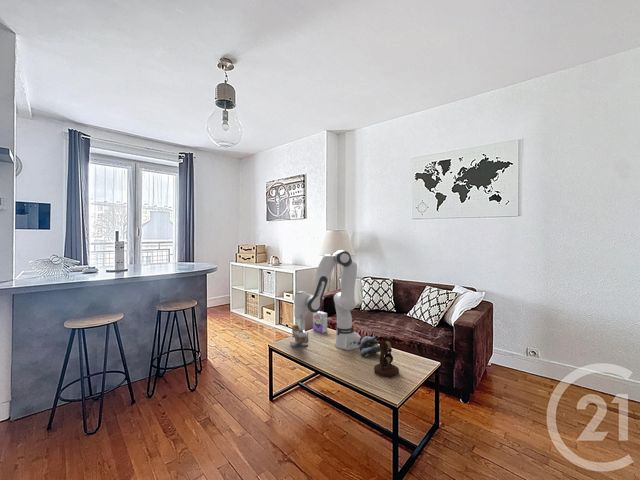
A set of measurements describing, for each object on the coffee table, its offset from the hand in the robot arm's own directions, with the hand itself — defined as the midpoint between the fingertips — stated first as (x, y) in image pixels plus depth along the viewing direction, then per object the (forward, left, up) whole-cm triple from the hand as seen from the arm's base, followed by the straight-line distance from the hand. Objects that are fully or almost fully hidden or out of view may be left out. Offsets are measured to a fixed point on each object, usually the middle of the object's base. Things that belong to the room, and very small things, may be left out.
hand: (300, 332), depth 218 cm
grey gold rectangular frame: (0, -2, -12) cm, 12 cm away
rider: (0, +4, -2) cm, 5 cm away
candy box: (-23, -36, -12) cm, 44 cm away
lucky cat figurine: (-44, +22, -12) cm, 51 cm away
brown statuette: (-44, +50, -12) cm, 68 cm away
